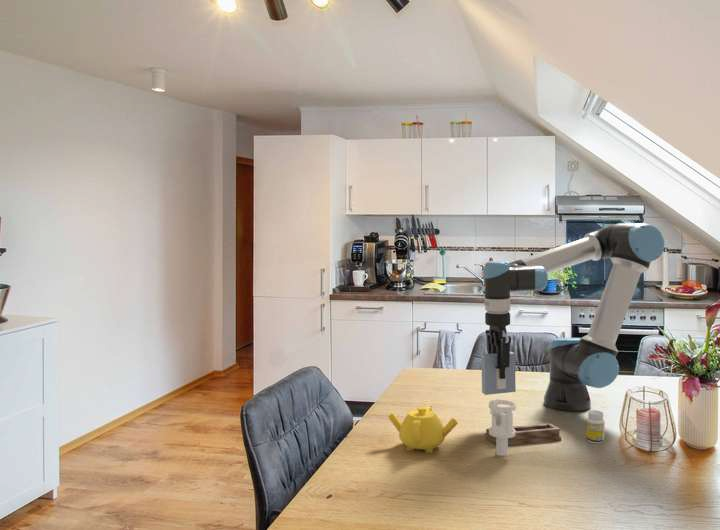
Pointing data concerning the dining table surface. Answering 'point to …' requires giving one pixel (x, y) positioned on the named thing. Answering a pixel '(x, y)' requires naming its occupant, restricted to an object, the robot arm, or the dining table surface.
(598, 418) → the supplement bottle
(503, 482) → the dining table surface
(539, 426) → the track
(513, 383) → the door panel
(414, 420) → the teapot
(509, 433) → the strainer
